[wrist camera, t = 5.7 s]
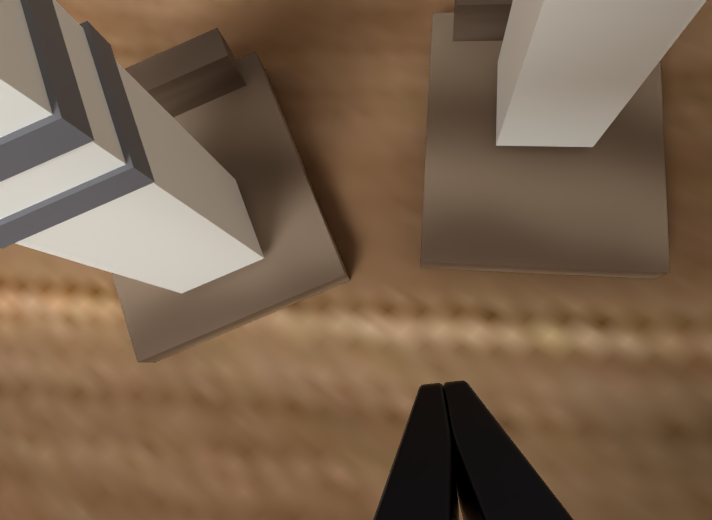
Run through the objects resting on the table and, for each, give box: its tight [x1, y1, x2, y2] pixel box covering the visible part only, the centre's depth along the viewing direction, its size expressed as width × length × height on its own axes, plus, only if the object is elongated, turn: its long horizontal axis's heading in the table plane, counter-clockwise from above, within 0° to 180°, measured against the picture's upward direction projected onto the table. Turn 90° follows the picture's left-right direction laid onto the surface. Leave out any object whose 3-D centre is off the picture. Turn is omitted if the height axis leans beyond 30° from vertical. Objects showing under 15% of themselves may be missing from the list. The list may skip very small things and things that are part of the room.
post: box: [0, 0, 264, 294], centre depth 16 cm, size 4×4×16 cm
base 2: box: [420, 0, 670, 279], centre depth 22 cm, size 12×10×4 cm
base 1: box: [111, 28, 350, 362], centre depth 24 cm, size 12×10×4 cm
